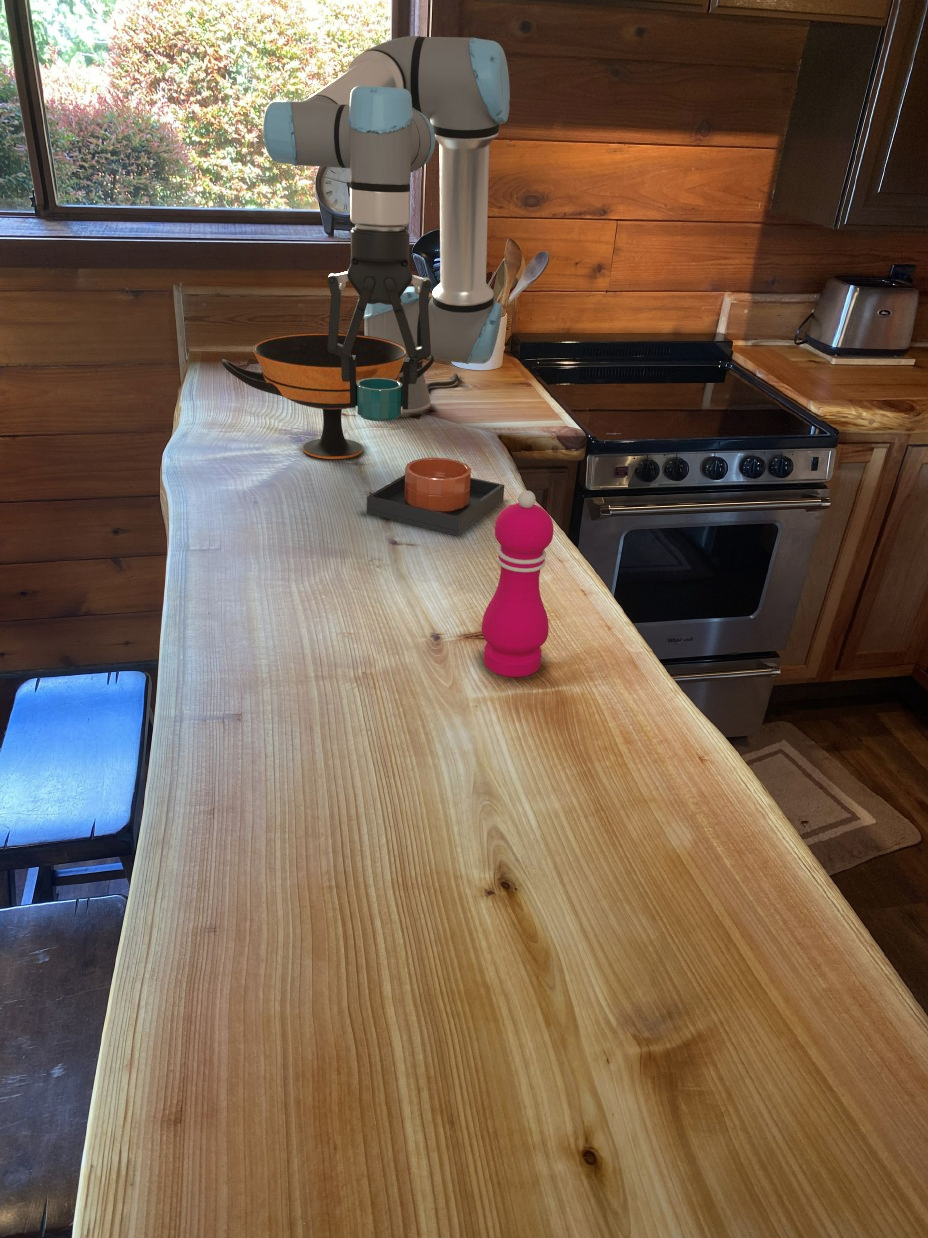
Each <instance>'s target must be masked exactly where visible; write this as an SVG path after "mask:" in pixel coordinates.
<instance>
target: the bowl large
mask: <svg viewBox="0 0 928 1238" xmlns="http://www.w3.org/2000/svg"><path fill="white" fill-rule="evenodd" d="M404 475H405V500H406V501H407V503H408V504H410V505H412V506H416V507H420V508H424V509H429V510H433V511H437V512H442V513H445V512H452V511H456V510H458V509H460V508H463V507H465V506H466V505H467V504H469V500H470V484H471V478H472V468H471V467H470V466H469V465H468V464H467V463H464V462H463V461H460V460H457V459H451V458H447V457H446V458H444V457H425V458H418V459H414V460H412V461H410V462H408V463H406V465H405V467H404Z"/></svg>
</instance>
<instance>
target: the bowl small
mask: <svg viewBox="0 0 928 1238" xmlns="http://www.w3.org/2000/svg"><path fill="white" fill-rule="evenodd" d="M402 398H403V384H402V383H401V382H399V381H396V380H392V379H387V378H367V379H362V380H359V381H357V382H356V408H355V413H356V414H357V415H358V416H360V418H362V419H364V420H366V421H372V422H389V421H395V420H396V419H398V418H399V417H398V416H400V415H401V414H402V400H403V399H402Z"/></svg>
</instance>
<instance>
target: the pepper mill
mask: <svg viewBox="0 0 928 1238" xmlns="http://www.w3.org/2000/svg"><path fill="white" fill-rule="evenodd" d="M536 501H537V498H536V495H535V494H534V492H532V491H531V490H523V491H521V492H520V493H519V494H518V497H517V503H513V504H509V505H508V506H506V507H504V508H503V509H502V510H501V511H500V512H499V514H498V516H497V518H496V520H495V523H494V537H495V540H496V541H497V543H498V545H500V546H498V548H497V557H496V562H497V564H498V565H499V566H500V574H499V580H498V584H497V587H496V590H495V592H494V594H493V596H492V598H491V599H490V601H489V602H488V604H487V606H486V608H485V610H484V613H483V616H482V621H481V629H480V630H481V635H482V636H483V638H484V640H485V641H486V643H485V645H484V650H483V653H484V654H483V664H484V665H485V667H486V668H487V669H488V670H490V671H491V672H493V673H495V674H497V675H499V676H503V677H508V678H522V677H523V678H524V677H528V676H530V675H533V674H535V673H536V672H537V671H538V670H539V669H540V667H541V663H542V648H541V647H542V646H543V645H544V644H545V643H546V642H547V640H548V637H549V625H550V623H549V618H548V614H547V613H548V612H547V610H546V608H545V606H544V602H543V600H542V599H543V598H542V596H541V591H540V576H541V575H540V574H541V571H542V569H543V568H544V567H545V566H546V558H547V551H546V549H547V548H548V547H549V546H550V545H551V543H552V541H553V537H554V534H555V533H554V532H555V531H554V522H553V519H552V517H551V515H550V514H549V512H548V511H547V510H546V509H544V507H541V506H539V505H538V504H536Z"/></svg>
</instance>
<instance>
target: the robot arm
mask: <svg viewBox="0 0 928 1238" xmlns="http://www.w3.org/2000/svg"><path fill="white" fill-rule="evenodd" d="M509 75H510V74H509V68H508V61H507V58H506V53H505V51H504V49H503V47H502V46H501V44H500V43H498V42H497V41H495V40H489V39H483V38H477V37H457V36H456V37H452V36H420V35H407V36H402V37H397V38H393V39H390V40H386V41H384V42H381V43H379V44H376V45H374V46H372V47H370V48H368V49H365V50H364V51H363V52H361V53H360V54H358V55H356V57H354V58H353V59H352V60H351V61H350V64H349V65H348V68H347V71H346V72H345V73H343V74H341V75H340V76H338V77H337V78H335V79H334V80H332V81H331V82H329V83H328V84H326V85H325V86H323V87H322V88H319V90H317V91H316V92H313V94H311V95H310V96H308V97H307V98H304V99H303V100H301V101H294V100H291V99H287V100H273V101H271V102H270V103H269V104H268V105H267V106H266V108H265V111H264V114H263V120H262V134H263V141H264V142H263V143H264V146H265V149H266V153H267V154H268V156H269V157H270V159H271V160H272V161H274V162H275V163H278V164H285V165H292V166H294V167H298V166H303V167H320V168H321V167H322V168H337V169H338V168H339V169H349V170H350V171H349V173H350V179H349V180H350V183H349V184H350V188H349V210H350V211H349V213H350V215H349V216H350V218H349V219H350V220H349V221H350V222H351V223H352V224H355V225H354V227H352V228H351V230H350V264H349V267H348V269H347V271H344V272H340V273H335V272H332V273H329V275H328V277H327V284H328V285H327V286H328V289H329V293H330V307H329V321H328V332H327V333H328V347H327V349H328V352H329V353H334V354H336V355H338V356H340V358H341V377H342V380H343V382H350V407H352V408H351V409H356V355H351V351H352V348H353V345H354V342H355V339H356V336H357V335H358V332H359V329H360V326H361V324H362V321H363V319H364V321H363V322H364V336H371V337H377V338H381V339H385V340H389V341H392V342H395V343H398V344H400V345H401V346H403V347H404V348H405V349H406V351H407V356H406V357H403V372H401V373H399V377H403V398H402V399H403V400H402V414H401V415H400V416H398V417H397V418H407V417H408V418H409V417H416V416H420V415H421V416H422V415H424V414H426V413H427V412H429V411H430V410H431V397H430V392H429V388H431V387H448V386H449V387H450V386H453V385H455V384H456V383H457V381H458V380H459V376H458V374H457V372H455V373H453V375H452V376H453V377H452V380H447V381H432V382H428V383H427V382H426V379H425V373H423V374H422V375H421V376H420V377H419V378H417V370H419V369H420V368H422V367H423V366H424V365H423V364H424V363H423V362H424V360H430V358H428V356H430V354H432V355H433V357H434V361H440V362H441V361H443V362H450V363H451V362H452V363H461V364H465V365H469V364H474V365H475V364H477V365H484V364H486V363H488V362H490V360H491V358H492V357H493V354H494V352H495V347H496V344H497V340H498V336H499V332H500V328H501V327H500V326H501V320H502V314H503V305H502V303H500V302H498V301H495V300H494V298H495V297H494V296H495V295H494V293H495V292H494V290H493V288H491V286H489V284H488V283H487V260H488V259H487V258H488V257H487V255H488V217H489V215H488V214H489V181H490V180H489V178H490V177H489V176H490V144H491V143H492V142H493V141H494V140H495V139H496V138H497V137H498V136H499V133H500V125H503V124H506V122H507V121H508V118H509V116H510V100H511V89H510V76H509ZM436 142H437V143H438V144H439V146H438V147H439V148H438V149H439V152H438V153H439V155H438V156H439V259H440V260H439V261H440V262H439V264H440V265H439V266H440V268H439V272H440V273H439V275H440V276H439V277H440V279H439V280H440V282H439V283H438V284H437V285H436V286H435V287H433V290H432V286H433V285H432V280H431V278H430V277H428V276H426V277H421V276H418V275H415V274H413V272H412V269H411V267H410V235H411V234H410V231H409V230H408V229H407V228H406V227H408V226H409V225H410V224H411V173H414V172H415V171H418V169H421V168H422V167H423V166H425V165H426V164H427V163H428V162H429V161H430V159H431V158H432V156H433V154H434V151H435V146H436ZM347 282H349V283H350V284H351V286H352V287H353V289H354V290H355V291H356V293H357V295H358V296H359V297H358V300H357V303H356V306H355V309H354V312H353V315H352V318H351V321H350V324H349V327H348V330H347V333H346V334H347V336H346V339H345V342H344V345H342V344H339V343H338V333H339V332H340V320H341V319H340V318H341V307H342V305H341V304H342V292H343V291H345V289H346V283H347ZM410 284H411V285H413V286H410ZM431 290H432V296H430V293H431ZM423 357H426V358H424V359H422V360H420V361H419V362H418V360H419V359H420V358H423Z"/></svg>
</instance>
